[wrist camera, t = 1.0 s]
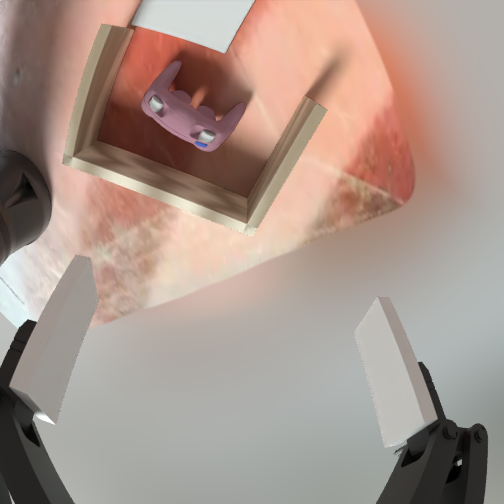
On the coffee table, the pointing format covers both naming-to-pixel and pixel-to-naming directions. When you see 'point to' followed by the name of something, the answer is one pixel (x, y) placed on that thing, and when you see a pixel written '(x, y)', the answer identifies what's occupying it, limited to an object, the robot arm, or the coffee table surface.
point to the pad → (195, 19)
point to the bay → (164, 177)
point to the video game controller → (187, 113)
